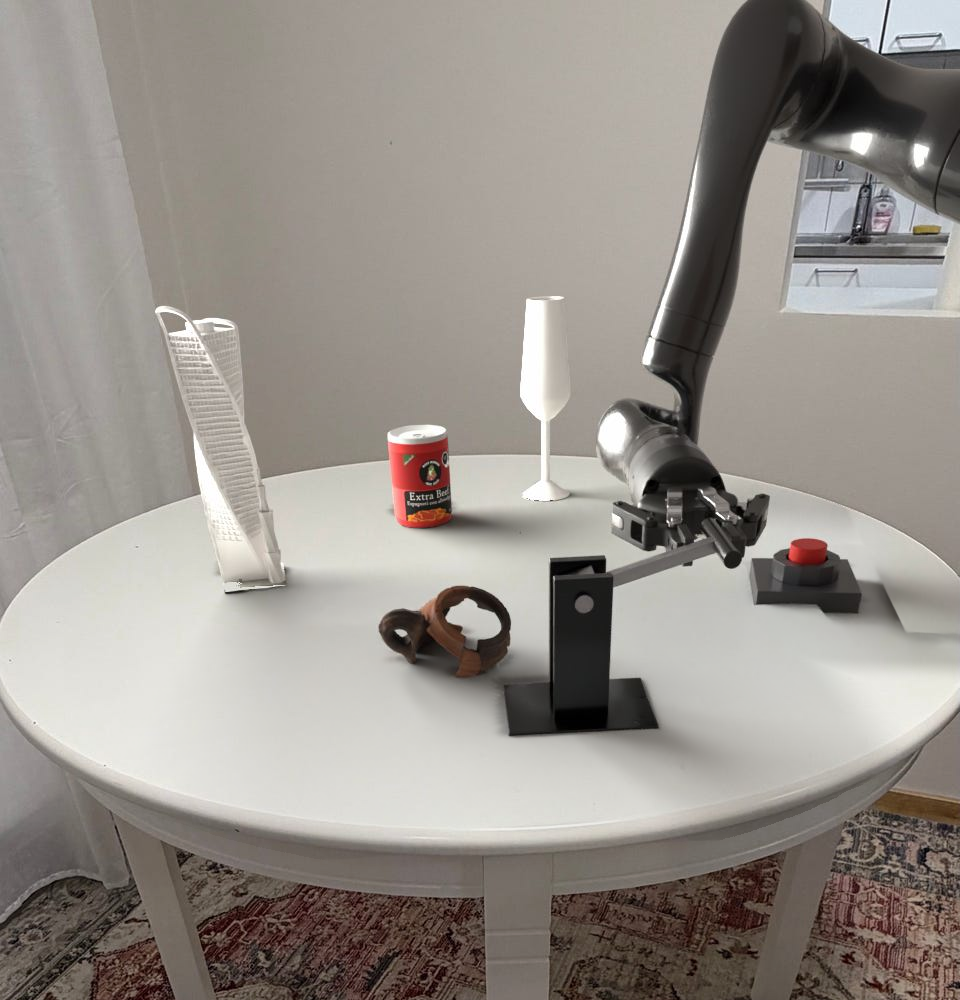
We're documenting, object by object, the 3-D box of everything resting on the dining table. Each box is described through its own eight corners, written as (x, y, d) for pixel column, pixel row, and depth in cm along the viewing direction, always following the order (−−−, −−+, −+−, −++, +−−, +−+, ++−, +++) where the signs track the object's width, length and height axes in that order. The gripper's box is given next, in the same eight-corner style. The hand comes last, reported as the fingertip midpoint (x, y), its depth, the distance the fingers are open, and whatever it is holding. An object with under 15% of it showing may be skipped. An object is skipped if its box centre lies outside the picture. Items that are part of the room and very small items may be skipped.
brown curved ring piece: (481, 639, 95) (509, 579, 88) (498, 715, 91) (529, 658, 84) (364, 628, 91) (384, 564, 84) (376, 707, 86) (398, 646, 80)
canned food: (407, 532, 123) (399, 441, 116) (386, 516, 129) (378, 429, 122) (462, 522, 125) (457, 433, 119) (439, 507, 131) (433, 421, 125)
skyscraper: (211, 594, 107) (150, 311, 91) (212, 571, 114) (156, 302, 97) (286, 586, 109) (239, 304, 92) (283, 563, 115) (239, 296, 99)
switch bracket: (639, 689, 84) (648, 544, 76) (658, 739, 76) (669, 584, 69) (503, 696, 84) (499, 551, 76) (509, 746, 76) (504, 592, 69)
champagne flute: (512, 495, 134) (507, 300, 120) (545, 485, 138) (544, 294, 124) (546, 503, 130) (546, 302, 116) (579, 493, 134) (583, 296, 120)
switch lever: (719, 537, 76) (713, 508, 74) (744, 572, 69) (739, 541, 68) (561, 591, 78) (553, 564, 76) (572, 630, 71) (563, 600, 70)
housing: (844, 579, 103) (851, 542, 101) (858, 614, 95) (865, 575, 93) (749, 577, 105) (753, 541, 102) (754, 612, 97) (760, 573, 94)
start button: (822, 555, 99) (825, 538, 98) (826, 567, 96) (829, 549, 95) (786, 554, 99) (789, 537, 98) (789, 566, 96) (792, 549, 95)
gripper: (597, 447, 84) (622, 508, 71) (756, 439, 84) (812, 498, 70) (595, 532, 89) (618, 604, 75) (746, 524, 89) (797, 595, 75)
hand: (712, 552), depth 73 cm, fingers open, 3 cm apart
